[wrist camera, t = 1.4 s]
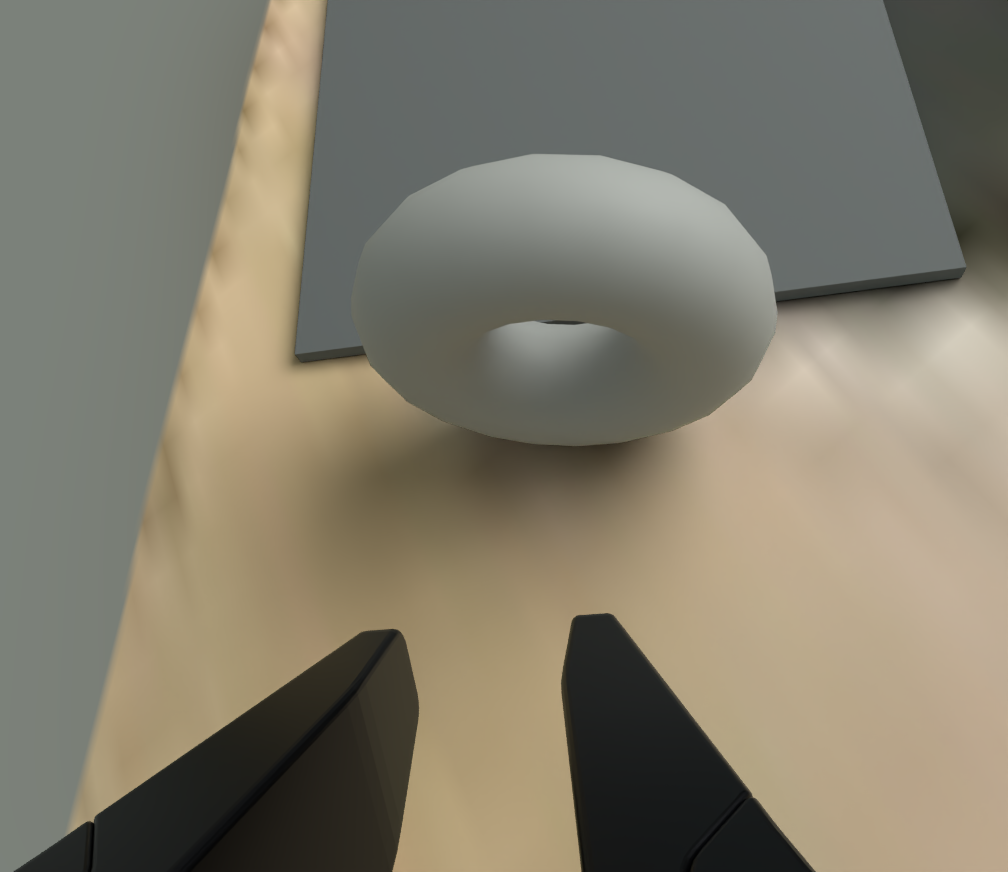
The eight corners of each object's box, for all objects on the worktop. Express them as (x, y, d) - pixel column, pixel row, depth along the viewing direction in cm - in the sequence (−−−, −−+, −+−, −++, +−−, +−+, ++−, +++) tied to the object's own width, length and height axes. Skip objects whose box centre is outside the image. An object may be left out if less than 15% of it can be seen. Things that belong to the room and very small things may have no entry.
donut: (413, 470, 25) (263, 271, 17) (426, 368, 27) (293, 134, 18) (765, 467, 23) (809, 237, 15) (759, 356, 25) (794, 86, 16)
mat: (961, 277, 25) (966, 266, 24) (301, 362, 28) (294, 354, 27) (829, -150, 33) (831, -163, 33) (337, -46, 37) (333, -57, 36)
